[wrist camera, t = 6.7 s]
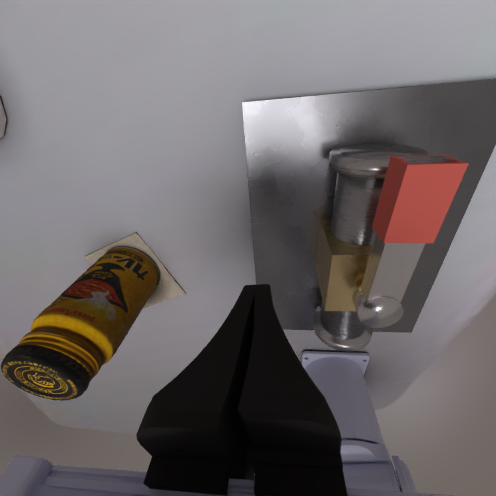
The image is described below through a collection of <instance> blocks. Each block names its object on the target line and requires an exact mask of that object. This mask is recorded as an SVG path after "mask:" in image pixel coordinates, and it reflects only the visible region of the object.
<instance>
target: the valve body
mask: <svg viewBox="0 0 496 496" xmlns="http://www.w3.org/2000/svg"><path fill="white" fill-rule="evenodd" d="M242 107H243V119H244V132H245V145H246V157H247V170H248V183H249V195H250V208H251V221H252V233H253V246H254V259H255V271H256V284H257V285H259V284H269V285H270V287H271V294H272V300H273V306H274V309H275V312H276V315H277V317H278V320H279V322H280V325H281V327H282V329H292V330H314V331H315V333H316V335H317V336H318V337H319V338H320V339H321V341H323V342H324V343H325V344H327V345H328V346H330V347H332V348H334V349H337V350H341V351H357V350H360V349H362V348H364V347H365V346H366V345H367V344H368V343H369V341H370V339H371V336H372V332H412V330H413V328H414V326H415V323H416V321H417V319H418V317H419V314H420V312H421V310H422V308H423V305H424V303H425V301H426V299H427V297H428V294H429V292H430V290H431V288H432V285H433V283H434V281H435V279H436V276H437V274H438V272H439V270H440V268H441V265H442V263H443V261H444V259H445V256H446V254H447V252H448V250H449V247H450V245H451V243H452V241H453V238H454V236H455V234H456V232H457V230H458V227H459V225H460V223H461V221H462V218H463V216H464V214H465V212H466V209H467V207H468V205H469V203H470V201H471V198H472V196H473V194H474V192H475V189H476V187H477V185H478V183H479V180H480V178H481V176H482V174H483V172H484V169H485V167H486V165H487V163H488V160H489V158H490V156H491V154H492V151H493V149H494V147H495V145H496V79H488V80H477V81H466V82H455V83H445V84H434V85H423V86H412V87H401V88H390V89H379V90H368V91H357V92H347V93H336V94H325V95H314V96H303V97H292V98H281V99H270V100H260V101H249V102H242ZM407 155H447V156H449V157H452V158H455V159H458V160H461V161H463V162H466V163H469V164H468V166H467V169H466V171H465V173H464V175H463V178H462V180H461V182H460V184H459V187H458V189H457V191H456V193H455V196H454V198H453V200H452V203H451V205H450V207H449V209H448V212H447V214H446V216H445V218H444V221H443V223H442V225H441V227H440V230H439V232H438V234H437V236H436V239H435V241H434V243H425V246H424V248H423V250H422V253H421V255H420V258H419V260H418V262H417V265H416V267H415V269H414V272H413V274H412V277H411V279H410V281H409V284H408V286H407V288H406V291H405V293H404V295H403V298H402V300H401V303H400V304H401V305H402V307H403V310H404V312H403V316H402V317H401V319H400V320H399V321H397V322H396V323H394V324H393V325H390V326H387V327H383V328H372V327H368V326H366V325H364V324H363V323H362V322H361V321H360V319H359V317H358V314H357V311H356V309H355V306H354V303H353V301H352V295H353V293H354V291H355V290H356V289H357V288H358V287H359V286H361V285H362V281H363V278H364V274H365V270H366V267H367V263H368V260H369V256H370V253H371V249H372V246H373V242H374V238H375V235H376V232H375V231H374V229H373V228H372V225H373V221H374V217H375V214H376V210H377V206H378V202H379V199H380V195H381V191H382V187H383V184H384V180H385V176H386V172H387V169H388V165H389V161H390V157H391V156H407Z"/></svg>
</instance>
